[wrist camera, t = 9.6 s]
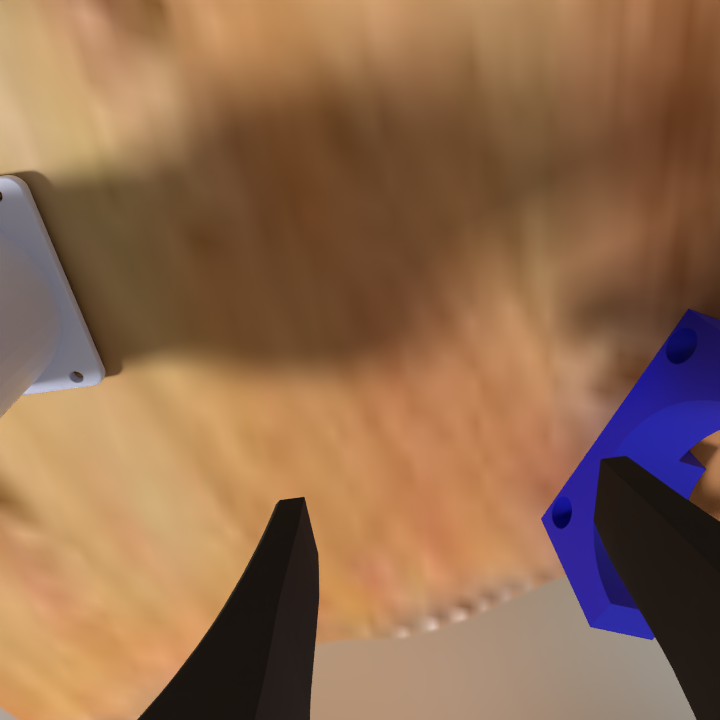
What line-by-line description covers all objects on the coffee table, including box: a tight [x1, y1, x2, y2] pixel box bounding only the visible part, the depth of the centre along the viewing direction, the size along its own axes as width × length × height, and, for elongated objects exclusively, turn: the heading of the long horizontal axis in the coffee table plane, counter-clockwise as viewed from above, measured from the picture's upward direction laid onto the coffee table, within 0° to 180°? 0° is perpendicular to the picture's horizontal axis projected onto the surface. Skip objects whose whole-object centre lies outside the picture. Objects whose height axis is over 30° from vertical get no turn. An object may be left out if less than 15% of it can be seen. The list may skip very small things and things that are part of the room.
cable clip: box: [541, 309, 720, 640], centre depth 22 cm, size 12×4×6 cm, turn 160°
